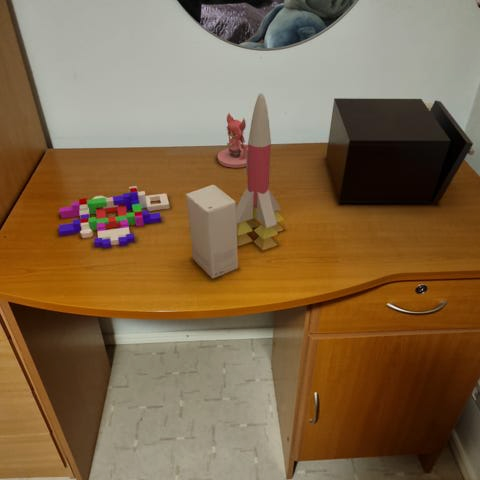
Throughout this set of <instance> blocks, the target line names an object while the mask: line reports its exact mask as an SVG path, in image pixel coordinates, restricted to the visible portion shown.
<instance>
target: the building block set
mask: <svg viewBox="0 0 480 480" xmlns="http://www.w3.org/2000/svg"><path fill="white" fill-rule="evenodd" d="M156 201H159V202H160V203H159V202H158V203H151V202H156ZM170 207H171V206H170V202H169V198H168V195H167V193H166V192H165V193H158V194H150V195H146V191H145V190H143V191H139V188H138V187H137V185H134V186H129V187H128V192H127V193H126V192H125V193H122V195H115V196H111V197H106V196H104V195H96V196H94V197H93V198H91V199H88V198H87V197H85V198H79V199H78V201H77V200H76V201H72V202H71V206H64V207H63V206H62V207H59V215H60V218H61V219H67V218H75V217H79V219H72V222H71V223H65V224H64V223H63V224H59V225H58V233H59V235H60V236H61V237H62V236H70V235H71V236H72V235H76V234H77V233H79V234H80V237H81V238H82V239H85V238H86V239H89V238H92V237H93V235H94V231H97V237H96V238H95V237H94V238H93V242H94V243H93V244H94V247H95V248H100V247H103V249H110V248H112V246H115V245H119V247H124V246H128V244H130V243H136V240H135V234H134V233H133V232H131V231H130V226H133V225H134V226H135V225H136V227H144V226H145V224H147V225H150V224H157V223H158V224H159V223H162V216H161V213H160V212H153V211H159V210H169V209H170ZM144 208H146V209H147V210H143V209H144ZM128 210H132V212H128ZM151 211H152V212H153V213H150V212H151ZM114 212H117V216H110V217H107V213H114ZM91 215H96V216H94V217H91Z"/></svg>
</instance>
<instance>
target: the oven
mask: <svg viewBox="0 0 480 480" xmlns="http://www.w3.org/2000/svg"><path fill="white" fill-rule="evenodd" d="M425 103H426V102H424V101H423V99H422V98H348V97H347V98H345V97H344V98H343V97H342V98H340V97H339V98H337V97H336V98H333V105H332V112H331V120H330V127H329V135H328V140H327V141H328V142H327V148H326V156H325V159H326V163H327V167H328V171H329V174H330V177H331V182H332V186H333V190H334V194H335V196H336V200H337V204H338V206H431V200H432V197H433V194H434V191H435V188H436V185H437V182H438V178H439V175H440V172H441V169H442V166H443V163H444V160H445V157H446V154H447V151H448V147H449V144H450V141H451V140H450V139H449V138H448V136H447V135H446V133H445V132H444V130H443V129H442V128H441V126H440V125H439V123H438V122H437V121H436V119H435V118H434V116H433V115H432V113H431V112H430V111H429V109H428V108H427V106H426V105H425Z"/></svg>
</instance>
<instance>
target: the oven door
mask: <svg viewBox="0 0 480 480" xmlns="http://www.w3.org/2000/svg"><path fill="white" fill-rule="evenodd" d="M432 104H433V106H432V108H431V110H430V112H431V113H432V115H433V116H434V118H435V119H436V121H437V122H438V123H439V125H440V126H441V128H442V129H443V130H444V132H445V133H446V135H447V136H448V138H449V139H450V140H451V141H450V144H449V147H448V151H447V154H446V157H445V160H444V163H443V166H442V169H441V172H440V175H439V178H438V182H437V185H436V188H435V191H434V194H433V197H432V200H431V203H430V205H434V206H438V205H439V204H440V202H441V200H442V198H443V197H444V196H445V194H446V192H447V190H448V188H449V186H450V185H451V183H452V181H453V180H454V178H455V176H456V174H457V173H458V171H459V169H460V167H462V164H463V163H464V161H465V159H466V157H467V156H468V155H469V156H473V155H474V154H475V150H474V149H473V145H474V143H473V141H472V140H471V139H470V137H469V136H468V135H467V134H466V132H465V131H464V130H463V128H462V127H461V126H460V124H459V123H458V121H456V119H455V118H454V117H453V116H452V114H451V113H450V112H449V110H448V109H447V108H446V106H445V104H443V103H442V101H441V100H440V101H439V100H437V99H435V100H434V101H433V103H432Z"/></svg>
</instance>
